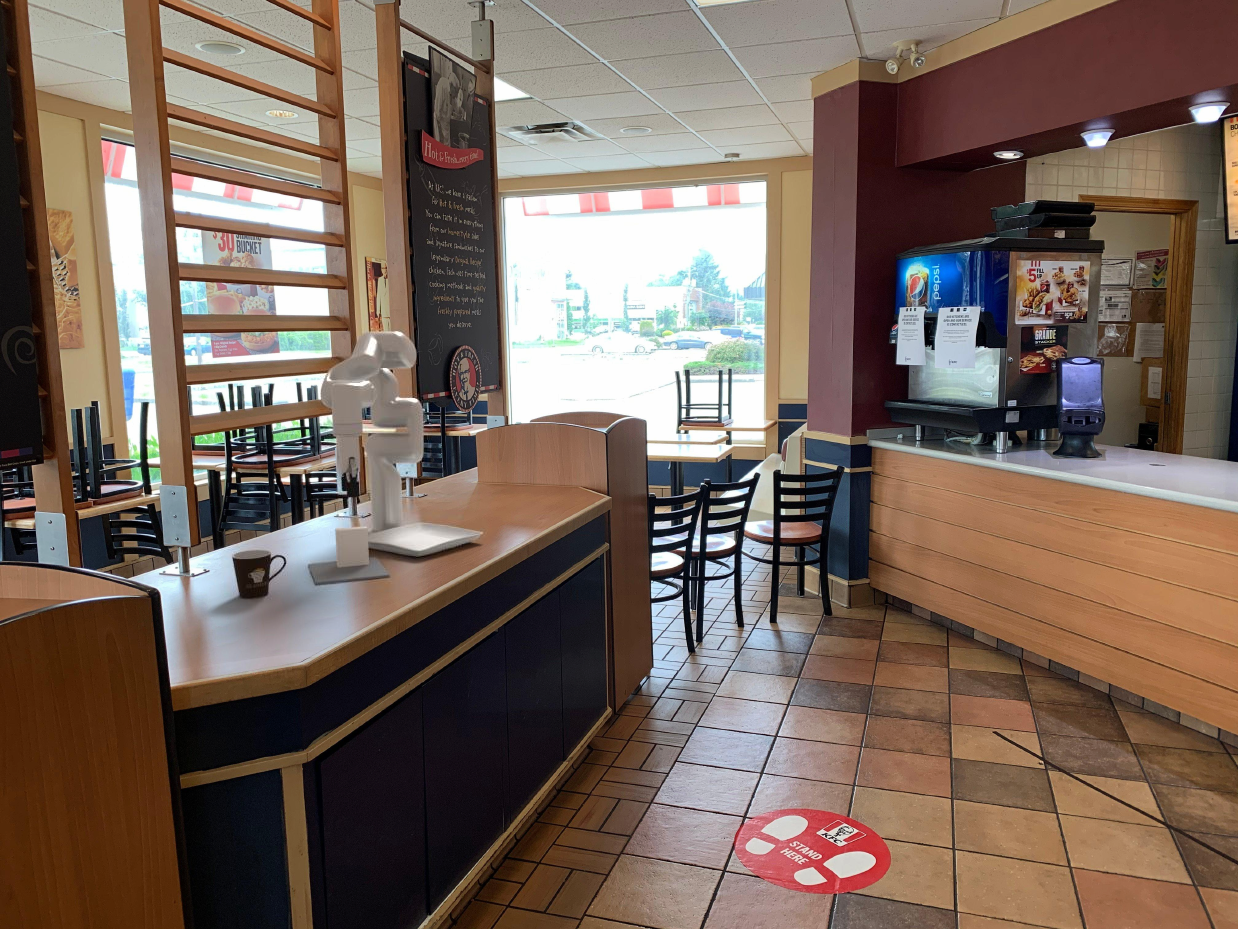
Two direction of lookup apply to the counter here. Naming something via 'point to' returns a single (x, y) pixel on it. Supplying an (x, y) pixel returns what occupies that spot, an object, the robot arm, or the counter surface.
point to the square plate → (420, 539)
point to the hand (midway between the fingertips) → (350, 493)
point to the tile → (352, 546)
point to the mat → (346, 572)
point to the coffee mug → (254, 572)
